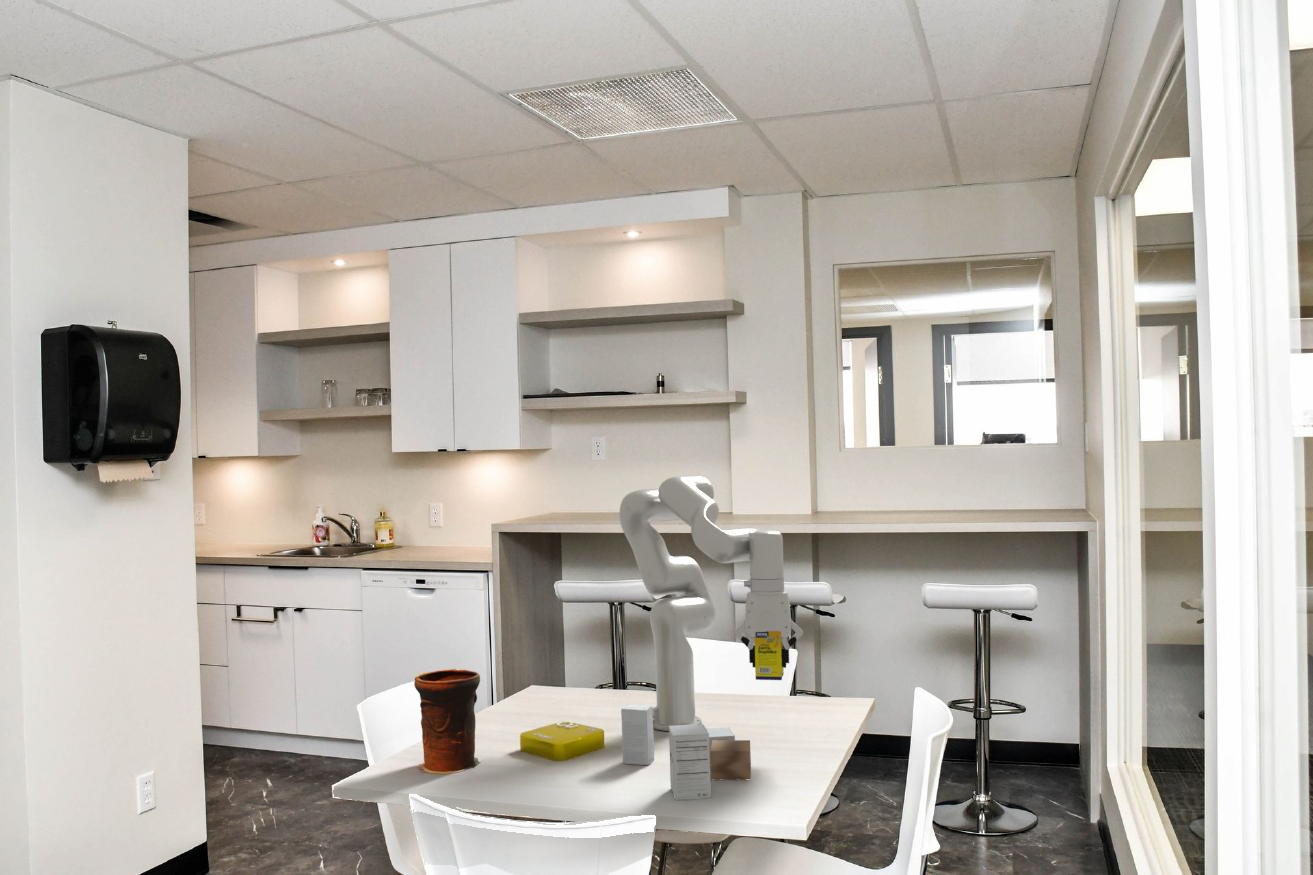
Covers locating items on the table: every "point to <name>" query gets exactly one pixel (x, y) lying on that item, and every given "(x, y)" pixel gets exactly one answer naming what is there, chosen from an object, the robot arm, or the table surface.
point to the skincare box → (637, 734)
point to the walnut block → (730, 760)
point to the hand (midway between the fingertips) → (769, 665)
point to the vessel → (448, 719)
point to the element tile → (562, 741)
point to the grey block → (719, 735)
